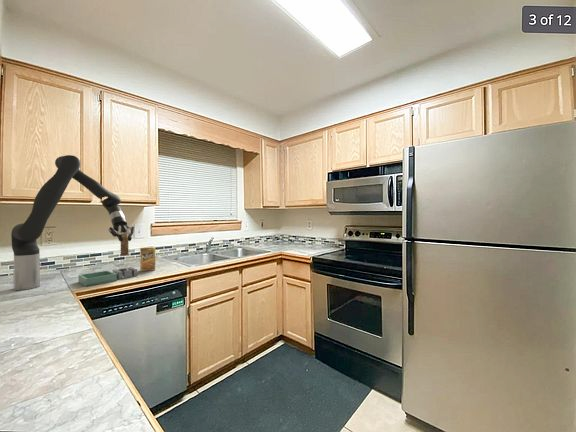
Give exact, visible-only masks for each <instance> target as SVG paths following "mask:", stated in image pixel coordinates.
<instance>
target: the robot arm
mask: <svg viewBox="0 0 576 432" xmlns="http://www.w3.org/2000/svg"><path fill="white" fill-rule="evenodd" d="M54 164H55V166H56V168H57V169H56V171H55V172H54V174H53V176H51V177H50V178H49V179H48V180H47V181H46V182H45V183H44V184H43V185H42V186H41V188H40V189H39V190H38V192H37V194H36V196H35V197H34V200H33V204H32V208H31V212H30V214H29V215H28V217H27V218H26V220H25V221H24V223H19V224H17V225H16V224H15V226H14V227H13V228H12V229H11V232H10V233H11V235H10V236H11V250H12V252H13V272H12V273H13V277H12V278H13V290H14V291H24V290H30V289H34V288H39V287H40V286H41V270H40V268H41V266H40V265H41V262H40V260H41V259H40V256H41V255H40V247H39V246H38V243H37V240H38V239H39V238H40V237H41V236H42V234H43V231H44V229H45V227H46V224H47V223H48V222H47V221H48V220H49V218H50V217H51V215H52V214H53V212H54V210H55V208H56V207H57V205H58V203H59V202H60V200H61V198H62V197H63V195H64V193H65V191H66V190H67V187H68V185H69V184H70V183H71V180H72V179H73V180H75V181H76V182H78V183H79V184H80V185H82V186H83V187H84V188H86V190H88V191H89V192H90V193H91V194H92V195H94V197H96V198H97V199H102V198H105V199H103V200H102V202H101V205H102V207H104V208H105V209H106V211H107V212H108V214H109V217H110V222H111V224H112V226H110V227H109V229H108V232H109V233H110V234H111V235H112V237H114V238H116V237H117V239H118V241H119V243H121V242H122V240H123V239H122V236H121V234H123V233H128V242H131V240H132V238H133V237H132V236H133V235H134V231H135V227H134V226H129V225H128V222H127V219H126V217H125V214H124V213H123V210H122V208H121V206H119V205H120V204H121V203H122V199H121V197H120V196H119V195H117V194H115V193H113V192H111V191H109V190H108V189H107V188H105V187H104V186H103V185H102V184H101V183H99V182H98V181H96V180H95V179H93V178H92V177H90V176H88V175H87V174H86V173H84V172H83V171H82V170H81V169H80V168H81V160H80V159H79V157H77V156H76V155H74V154H73V155H71V154H69V155H68V154H67V155H62V156H59V157H57V158H56V159H55V161H54Z"/></svg>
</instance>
